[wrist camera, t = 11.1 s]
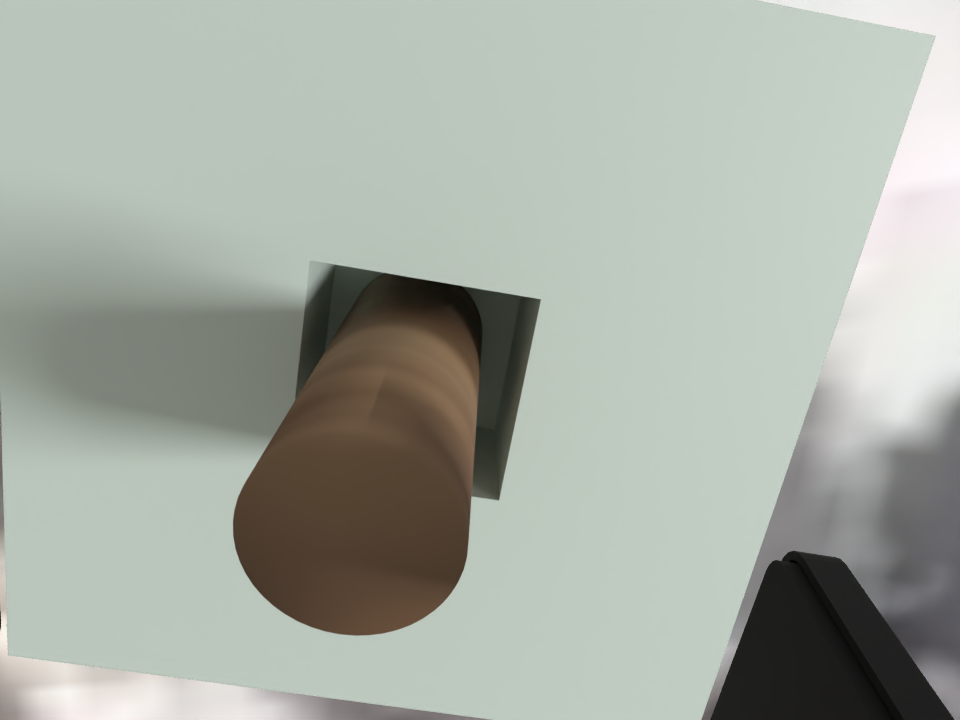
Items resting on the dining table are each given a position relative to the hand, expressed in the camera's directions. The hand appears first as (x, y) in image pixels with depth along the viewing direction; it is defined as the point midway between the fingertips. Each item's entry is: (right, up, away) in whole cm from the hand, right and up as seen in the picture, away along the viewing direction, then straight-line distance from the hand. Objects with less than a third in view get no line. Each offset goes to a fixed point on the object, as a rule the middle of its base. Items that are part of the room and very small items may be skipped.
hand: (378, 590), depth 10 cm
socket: (0, +4, +13) cm, 13 cm away
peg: (-1, +4, +12) cm, 12 cm away
